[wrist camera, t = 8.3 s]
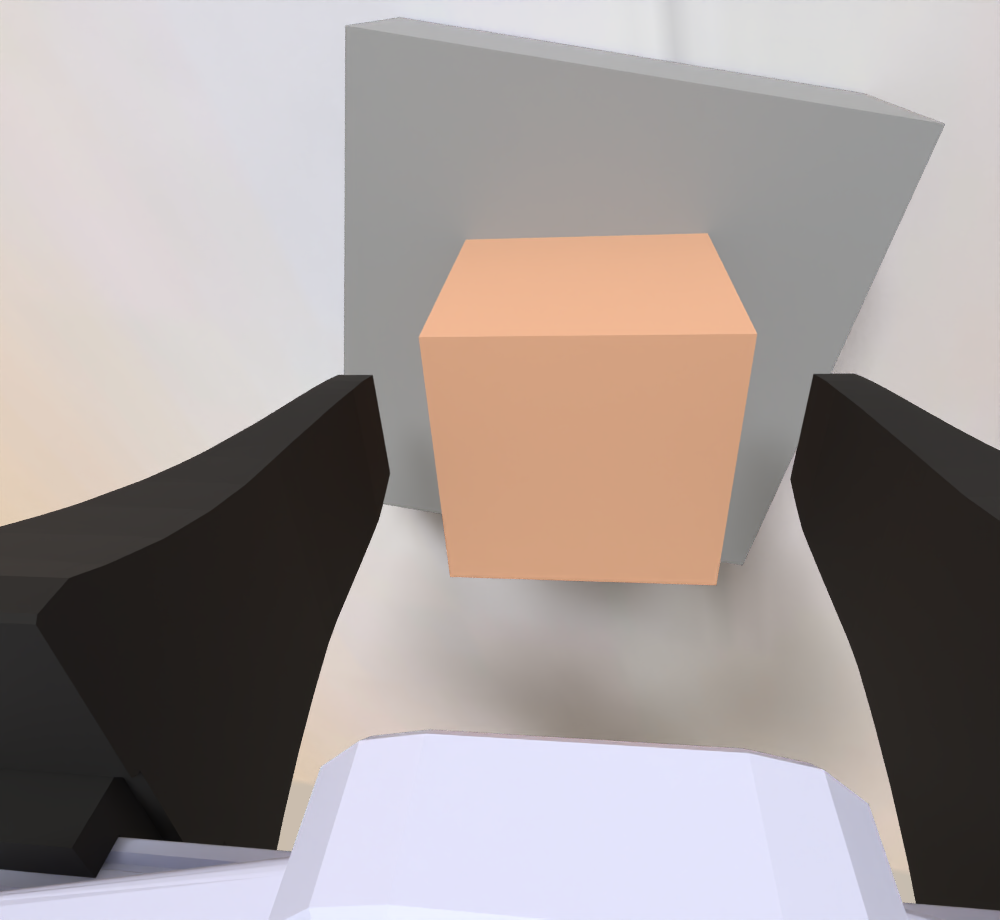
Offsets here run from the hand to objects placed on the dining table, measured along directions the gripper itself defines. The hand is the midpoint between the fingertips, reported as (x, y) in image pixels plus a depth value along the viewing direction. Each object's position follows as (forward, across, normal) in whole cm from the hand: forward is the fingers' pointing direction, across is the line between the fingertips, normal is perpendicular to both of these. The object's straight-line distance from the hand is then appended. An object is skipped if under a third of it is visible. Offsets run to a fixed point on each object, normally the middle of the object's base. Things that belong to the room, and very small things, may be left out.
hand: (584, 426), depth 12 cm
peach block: (+3, 0, 0) cm, 3 cm away
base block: (+7, 0, 0) cm, 7 cm away
